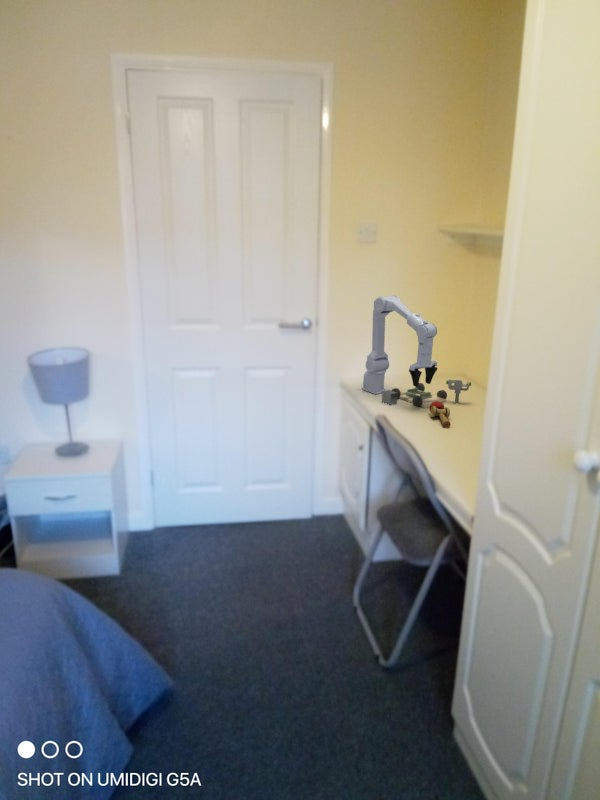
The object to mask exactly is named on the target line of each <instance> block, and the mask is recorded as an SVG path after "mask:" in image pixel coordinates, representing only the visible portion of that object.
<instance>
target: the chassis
mask: <svg viewBox="0 0 600 800" xmlns="http://www.w3.org/2000/svg"><path fill="white" fill-rule="evenodd" d="M425 390H426V387H425V384H423V383H422V382H419V385H418V387H416V386H414V387H413V388H409V389H405V390H400V389H399V388H398V387H397V388H396V387H395V388H392V389H391V391H394V392H397V393H398V394H397V399H399V400H401V399H402V401H404V400H405V401H404V402H407V401H408V403H410V402H411V403H410V404H413V406H414V407H422V408H423V409H425V408H429V407H430V405H431V403H433V402H435V401H439V402H441V403H443V404H445V402H446V403H447V402H448V401H447V398H448V393H447V391H446V390H444V389H441V390H438V391H437V392H436V395H433V394H432V393H431V392H430V391H428V392H426V391H425Z"/></svg>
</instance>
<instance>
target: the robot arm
mask: <svg viewBox="0 0 600 800" xmlns="http://www.w3.org/2000/svg"><path fill="white" fill-rule="evenodd" d="M392 312H396V313H397V314H398V315H399V316H401V317H403V318H404V319H405V320H406V324H407V325H408V327H411V329H413V330H414V331H415V332H416V336H417V341H418V347H417V357H416V358H417V359H416V362H415V363H413V364H410V365H409V368H408V372H409V374H410V376H411V380H412V386H413V387H415V386H416V387H418V385H419V383H420V378H421V375H422V373H423V371H420V370H421V369H424V372H425V384H428V385H430V384H431V383H432V381H433V377H434V375H435V373H436V372H437V371H438V361H436V360H432V356H433V347H434V338H435V337H436V336H437V334H438V328H437V326H436V325H435V324H434V323H433V322H431V323H429V322H428V320H426V319H424V318H423V317H421V314H420V313H416V312H414V313H412V311H410V309H408V307H406V305H405V304H403V302H402V299H401V298H399V297H398V296H397V295H391V296H389V295H388V296H377V298H376V299H375V300H374V301H373V311H372V332H371V333H372V335H371V336H372V339H371V340H372V341H371V344H372V345H371V352H370V353H369V354H367V356H366V361H365V369H366V371H365V372H364V374H363V378H362V380H363V383H362V387H361V390H363V391H366V392H369V393H371V394H373V395H377V394H378V395H379V394H383V391H386V390H387V389H384V388H385V375H386V373H387V370H388V369H389V368H390V361H389V354H387V353H386V351H385V337H386V332H385V331H386V317H387V316H388V315H389V314H390V313H392Z"/></svg>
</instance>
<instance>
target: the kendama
mask: <svg viewBox="0 0 600 800" xmlns="http://www.w3.org/2000/svg"><path fill="white" fill-rule="evenodd" d="M428 408H429V415H430V417H431V418H434V417H439V419H440V421H441V424H442V426H443V428H445V427H448V428H449V427H451V421H449V418H450V415H451V409H450V407H445V405H444V403H441V402H439V401H435V402H433V403H431V405H430V407H428Z"/></svg>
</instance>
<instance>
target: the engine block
mask: <svg viewBox="0 0 600 800" xmlns="http://www.w3.org/2000/svg"><path fill="white" fill-rule="evenodd" d="M385 390H386V391H383V393H381V394H382V395H381V396H382V397H381V403H383V402H384V403H383V404H385V403H387V404H386V405H388V404H389V406H393V405H397V404H398V398H397V394H398V393H397V392H394V391H391V390H392V389H391V390H390V389H385ZM396 403H397V404H396ZM392 404H393V405H392Z"/></svg>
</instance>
